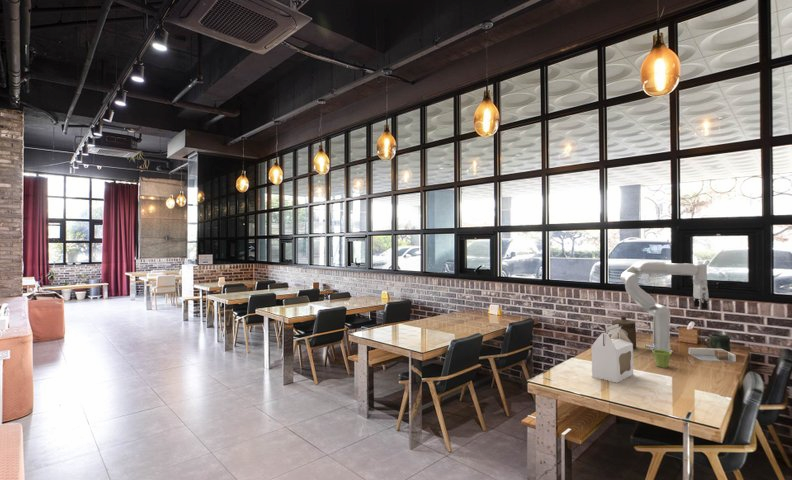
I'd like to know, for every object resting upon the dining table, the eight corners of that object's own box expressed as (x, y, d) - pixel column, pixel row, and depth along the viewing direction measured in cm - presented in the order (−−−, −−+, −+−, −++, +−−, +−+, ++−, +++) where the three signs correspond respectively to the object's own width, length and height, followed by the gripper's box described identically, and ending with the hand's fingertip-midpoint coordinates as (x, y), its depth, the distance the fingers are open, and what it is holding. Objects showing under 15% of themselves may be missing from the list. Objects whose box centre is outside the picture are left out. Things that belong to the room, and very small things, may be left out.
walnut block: (728, 360, 249) (728, 352, 250) (719, 359, 251) (718, 351, 251) (723, 358, 254) (723, 350, 254) (714, 357, 255) (714, 349, 256)
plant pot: (674, 369, 236) (674, 354, 236) (656, 368, 238) (656, 353, 238) (667, 364, 245) (667, 350, 245) (650, 363, 247) (649, 349, 247)
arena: (700, 361, 251) (700, 353, 251) (688, 355, 266) (688, 347, 266) (735, 362, 247) (735, 355, 247) (721, 356, 262) (721, 348, 262)
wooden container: (607, 345, 294) (607, 314, 294) (623, 343, 298) (623, 313, 298) (624, 350, 280) (624, 318, 280) (641, 348, 284) (640, 317, 284)
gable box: (616, 383, 213) (616, 330, 214) (591, 377, 223) (590, 326, 224) (633, 374, 227) (632, 324, 228) (609, 369, 237) (608, 321, 238)
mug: (731, 356, 261) (730, 338, 261) (702, 353, 270) (702, 335, 270) (731, 353, 269) (730, 335, 269) (703, 349, 278) (703, 332, 279)
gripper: (713, 283, 261) (714, 309, 261) (699, 281, 278) (700, 306, 278) (700, 283, 263) (701, 309, 263) (687, 281, 280) (687, 305, 279)
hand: (700, 307), depth 270 cm, fingers open, 9 cm apart
